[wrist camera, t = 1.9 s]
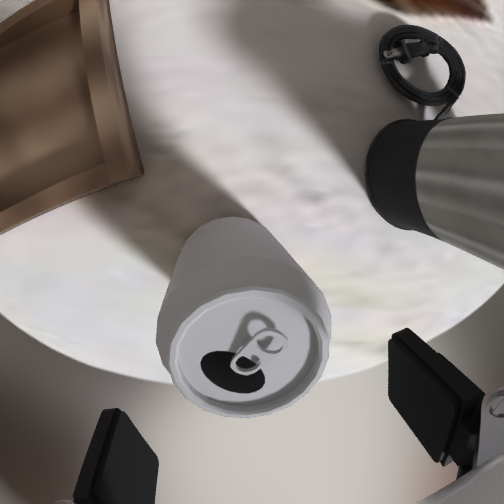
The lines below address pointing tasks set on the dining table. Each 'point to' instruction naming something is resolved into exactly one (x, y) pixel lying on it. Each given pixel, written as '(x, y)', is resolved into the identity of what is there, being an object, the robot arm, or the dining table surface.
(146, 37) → the dining table surface
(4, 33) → the tray
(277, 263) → the can
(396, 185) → the milk frother
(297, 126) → the dining table surface
